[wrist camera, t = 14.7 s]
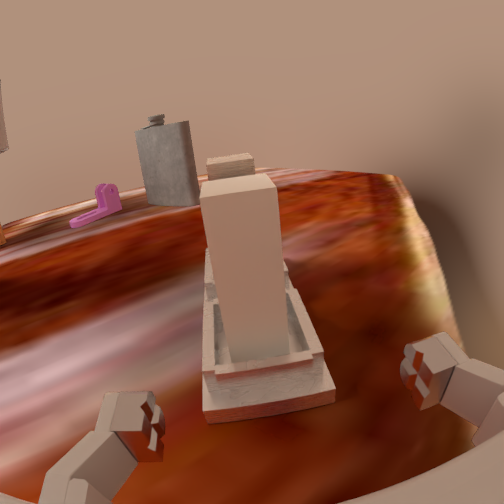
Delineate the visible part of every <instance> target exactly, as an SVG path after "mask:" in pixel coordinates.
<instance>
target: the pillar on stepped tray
mask: <svg viewBox="0 0 504 504" xmlns="http://www.w3.org/2000/svg"><path fill="white" fill-rule="evenodd" d="M206 167H207V173H208V180H209V181H213V180H219V179H226V178H233V177H240V176H247V175H255V167H254V159H253V157H252V156H251V155H250V154H249V153H244V154H237V155H229V156H223V157H216V158H209V159H207V164H206ZM283 265H284V278H285V291H286V305H287V319H288V334H289V350H290V354H286V355H280V356H275V357H269V358H263V359H257V360H250V361H244V362H237V363H232V362H231V358H230V353H229V349H228V344H227V340H226V335H225V330H224V325H223V321H222V316H221V311H220V306H219V301H218V296H217V291H216V286H215V281H214V276H213V271H212V266H211V260H210V255H209V250H208V248H206V256H205V278H204V284H205V289H204V304H203V342H202V373H203V413H204V416H205V418H206V421H207V423H208V424H214V423H223V422H232V421H240V420H247V419H254V418H260V417H267V416H273V415H278V414H284V413H289V412H294V411H299V410H304V409H309V408H314V407H318V406H322V405H327V404H331V403H335V394H336V387H335V385H334V382H333V380H332V378H331V375H330V373H329V370H328V368H327V366H326V363H325V361H324V350H323V348H322V345H321V343H320V341H319V339H318V336H317V334H316V332H315V329H314V327H313V325H312V323H311V320H310V318H309V316H308V313H307V311H306V309H305V307H304V304H303V302H302V300H301V298H300V295H299V293H298V291H297V289H294V288H293V286H292V283H291V281H290V279H289V273H288V269H287V266H286V264H285V262H284V260H283Z"/></svg>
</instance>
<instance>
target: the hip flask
mask: <svg viewBox="0 0 504 504" xmlns="http://www.w3.org/2000/svg"><path fill="white" fill-rule="evenodd" d="M164 117H165V116H164V114H163V115H162V114H161V115H155V116H151V117H148V121H150V126H147V127H145V128H141V129H143V130H138V131H135V135H136V142H137V147H138V153H139V158H140V164H141V169H142V174H143V180H144V185H145V189H146V194H147V199H148V203H149V204H152V205H160V206H195V205H199V204H200V199H199V197H200V191H199V185H198V179H197V172H196V166H195V160H194V154H193V148H192V140H191V134H190V127H189V121H183V122H178V123H172V124H167V125H164V124H163V123H164V120H163V118H164ZM149 127H151V128H149ZM146 128H148V129H146Z"/></svg>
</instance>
